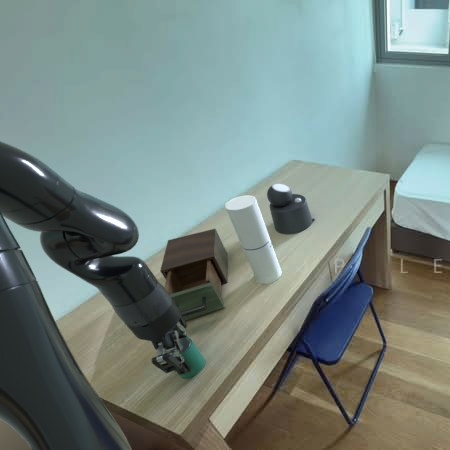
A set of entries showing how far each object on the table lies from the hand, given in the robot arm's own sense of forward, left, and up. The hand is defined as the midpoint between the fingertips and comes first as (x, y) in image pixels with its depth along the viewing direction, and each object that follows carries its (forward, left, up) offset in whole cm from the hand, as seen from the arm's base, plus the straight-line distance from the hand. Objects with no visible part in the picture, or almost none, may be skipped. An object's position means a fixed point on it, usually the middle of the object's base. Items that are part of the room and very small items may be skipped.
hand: (187, 360), depth 66 cm
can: (0, 0, -3) cm, 3 cm away
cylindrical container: (+28, -8, -3) cm, 29 cm away
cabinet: (+30, +12, -3) cm, 32 cm away
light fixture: (+55, -9, -3) cm, 56 cm away
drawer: (+18, +7, -2) cm, 19 cm away
